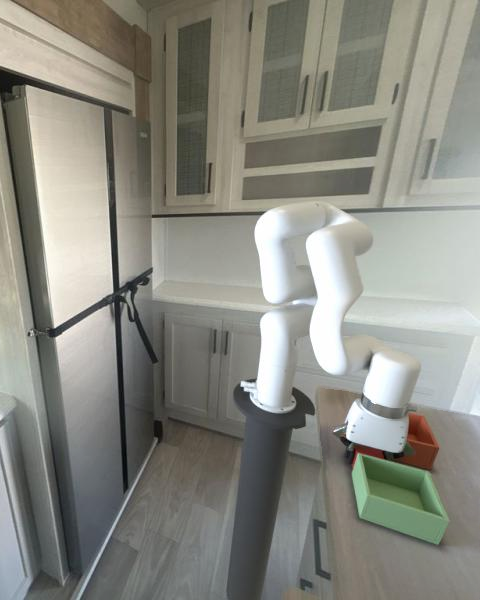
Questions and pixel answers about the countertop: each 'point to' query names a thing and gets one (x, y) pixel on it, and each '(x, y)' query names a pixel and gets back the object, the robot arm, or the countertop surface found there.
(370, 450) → the red block
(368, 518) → the sage bin
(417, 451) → the terracotta bin
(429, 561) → the countertop surface
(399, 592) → the countertop surface
